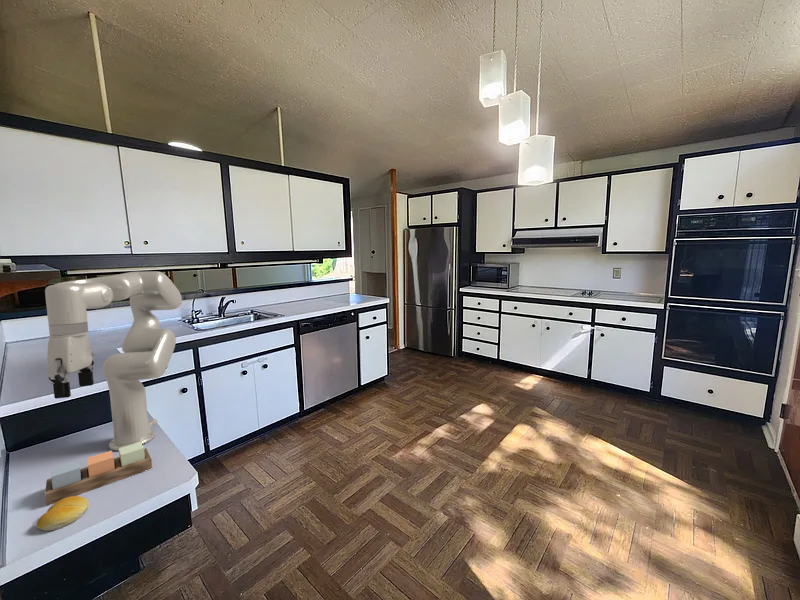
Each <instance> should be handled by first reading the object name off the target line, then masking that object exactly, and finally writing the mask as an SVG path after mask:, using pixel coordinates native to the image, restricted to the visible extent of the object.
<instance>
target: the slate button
mask: <svg viewBox="0 0 800 600" xmlns="http://www.w3.org/2000/svg"><path fill="white" fill-rule="evenodd" d="M80 469H81V464H80V459H78V460H76V461H75V460H74V461H72V462H69V463H66V464H61V465H59V466H56V467H52V468H51V473H50V474H51V475H50V478H51V479H52V487H53V490H54V489H57V488H60V487H63V486H66V485H69V484H72V483H75V482H78V481H81V471H80Z"/></svg>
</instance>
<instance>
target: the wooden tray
mask: <svg viewBox="0 0 800 600" xmlns="http://www.w3.org/2000/svg"><path fill="white" fill-rule="evenodd" d="M148 451H149V450H148V449H147V447H144V453H145V459H144V460H141V461H138V462H135V463H132V464H129V465H126V466H123V467H122V466H121V463H120V456H117V457H114V466H115V469H114V470H111V471H108V472H105V473H102V474H99V475H96V476H93V477H90V478H89V471H88V466H85V467H82V468H80V471H81V481H78V482H75V483H72V484H69V485H66V486H63V487H60V488H57V489H54V490H53V487H52V479H51V477H50V478H47V479H46V483H45V494H44V495H45V504H46V506H47V505H48V506H50V504H51V505H53V503H54V504H55V502H58V501H60V500H62V499H64V498H67V497H71V496H80V495H82V494H84V493H88V492H90V491H93V490H96V489H98V488H101V487H104V486H107V485H110V484H113V483H116V482H118V480H119V481H121V480H125V479H127V478H129V476H130V477H132V475H133V476H136V475H138V474H141V473H143V472H142V471H144V472H146V471H145V470H147V471H149V469H150V470H152V469H153V463H152V462H153V461H152V460H153V459H152V458H151V455H150V452H148ZM151 468H152V469H151ZM140 472H141V473H140ZM137 473H138V474H137ZM135 474H136V475H135ZM115 481H116V482H115ZM112 482H113V483H112ZM109 483H110V484H109Z"/></svg>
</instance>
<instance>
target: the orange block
mask: <svg viewBox="0 0 800 600" xmlns="http://www.w3.org/2000/svg"><path fill="white" fill-rule="evenodd" d="M114 458H115V457H114V454H113V450H111V449H110V450H109V451H105V452H102V453H98V454H96V455H91V456H89V457H87V458H86V459H87V460H86V461H87V467H88V471H89V478H90V477H93V476H96V475H99V474H102V473H105V472H108V471H111V470H114V469H115V466H114Z"/></svg>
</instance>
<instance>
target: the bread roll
mask: <svg viewBox="0 0 800 600" xmlns="http://www.w3.org/2000/svg"><path fill="white" fill-rule="evenodd" d="M89 505H90V503H89V500H88V499H87V498H86V497H83V496H80V495H76V496H71V497H67V498H64V499H62V500H60V501H58V502H56V503H54V504H51V506H50V507H48V509H47V510H46V512H45V513H43V514H42V515H41V516H40V517H39V518H38V519H37V521H36V528H37V529H39V530H41V531H44V532H49V531H50V532H51V531H56V530H58V529H62V528H64V527H66V526H69V525H70V524H72V523H75V522H76V521H77V520H79V519H80V518H82V517H83V515H84V514H85V512H86V511H87V510H88V509H89V507H90V506H89Z"/></svg>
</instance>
